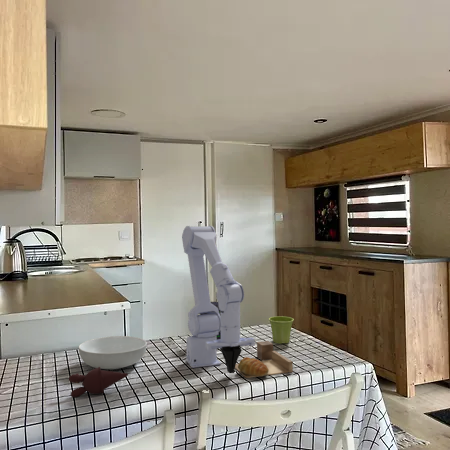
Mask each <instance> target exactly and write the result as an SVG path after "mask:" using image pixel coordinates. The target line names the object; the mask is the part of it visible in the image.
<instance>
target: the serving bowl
mask: <svg viewBox="0 0 450 450" xmlns="http://www.w3.org/2000/svg"><path fill="white" fill-rule="evenodd" d="M147 345H148V342H147V340H145V339H143V338H141V337H136V336H126V335H124V336H123V335H115V336H114V335H113V336H102V337H96V338H93V339H88V340H86V341H83V342H82V343H80V344H79V345H78V353H79V356H80V358H81V360H82V361H83V363H84V364H86V365H87V366H90V367H91V368H94V369H95V368H98V367H100V369H101V370H105V371H111V370H112V371H113V370H118V369H119V370H120V369H124V368H126V367H129V366H132V365H135V364H136V363H138V362H139V361H140V360H141V359H142V358H143V356H144V355H145V353H146V351H147Z"/></svg>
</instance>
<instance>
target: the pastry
mask: <svg viewBox="0 0 450 450" xmlns="http://www.w3.org/2000/svg"><path fill="white" fill-rule="evenodd" d="M260 361H261V360H259V359H256V358H254V357H253V358H251V357H249V356H248V357H247V356H246V357H242V359H240V361H239V363H238V364H239V365H238V369H239V370H240V371H241V372H243V373H244V374H247V375H250V376H251V375H252V376H255V377H254V378H257V377H256V376H258V377H264V375H266V374H268V371H269V369H268V368H267V366H266V365H264V363H262V362H260ZM266 376H267V375H266Z"/></svg>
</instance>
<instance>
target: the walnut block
mask: <svg viewBox="0 0 450 450" xmlns="http://www.w3.org/2000/svg"><path fill="white" fill-rule="evenodd" d="M272 351H274V344H273V343H272V342H271V341H269V340H265V341H257V342H256V358H258V360H259V359H260V361H266V360H272Z"/></svg>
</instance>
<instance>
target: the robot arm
mask: <svg viewBox="0 0 450 450" xmlns="http://www.w3.org/2000/svg"><path fill="white" fill-rule="evenodd" d="M216 232H217V231H216V229H215V227H214V226H213V225H208V226H206V225H205V226H204V225H203V226H199V225H197V226H196V225H195V226H192V225H191V226H190V225H186V226H185V227H184V229H183V232H182V236H181V240H182V247H183V253H185V254H186V255H187V261H188V267H189V273H190V274H189V275H190V279H191V285H192V286H191V287H192V294H193V300H194V306H193V307H192V308H191V309H190V310H189V311H188V323H187V324H188V325H187V326H188V331H189V332H190V334H191V335H190V336H187V338H186V359H185V360H186V363H188V365H189V366H190V367H191V368H193V369H194V368H201V367H202V368H203V367H211V366H219V365H221V363H222V362H221V361H220V360H218V358H217V357H218V355H217V353H218V351H217V349H220V352H221V354H222V356H223V358H224V361H225V366H226V370H227V373H229V374H234V373H235V370H236V369H235V366H236V364H237V362H238V359H239V357H240V356H241V353H242V348H241V347H247V346H255V345H256V344H255V343H256V342H255V341H256V340H255V338H254V337H241V303H242V302H243V301H244V298H245V291H244V288H243V285H242V284H241V283H239V282H238V281H237V280H235V279H234V276H233V274H232V272H231V269H230V267H229V266H228V264H227V263H225V262H223V261H222V258H221V255H220V252H219V250H218V247H217V244H216V241H217V236H218V235H217V233H216ZM204 256H205V258H206V260H207V261H208V263H209V264H210V267H211V268H210V270H209V273H210V275H211V278H212V280H213V283H214V285H215V287H216V289H217V291H216V294H215V295H216V300H217V302H218V304H219V310H221V316H220V314H219V310H218V308H217V307H216V306H214V305H213V304H211V302H212V301H211V296H210V290H209V284H208V279H207V278H208V277H207V271H206V265H205V258H204ZM202 313H209V314H203V315H200V314H202ZM220 330H221V339H219V340H217V335H218V334H219V331H220Z"/></svg>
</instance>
